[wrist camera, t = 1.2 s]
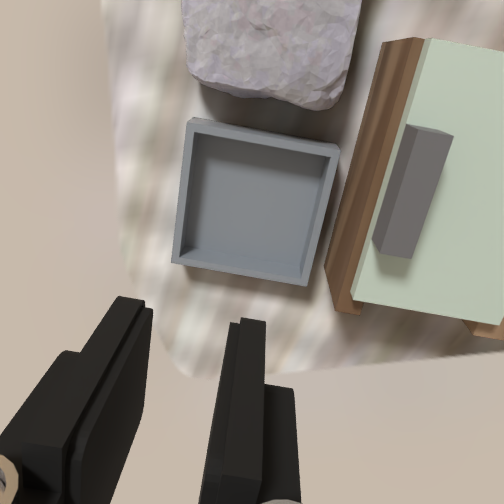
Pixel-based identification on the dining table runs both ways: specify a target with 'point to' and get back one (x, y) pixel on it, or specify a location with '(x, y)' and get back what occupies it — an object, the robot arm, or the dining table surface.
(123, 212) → the dining table surface
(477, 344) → the dining table surface
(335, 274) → the brown open box
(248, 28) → the stone block
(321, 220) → the gray tray
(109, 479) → the robot arm
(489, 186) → the sliding lid
